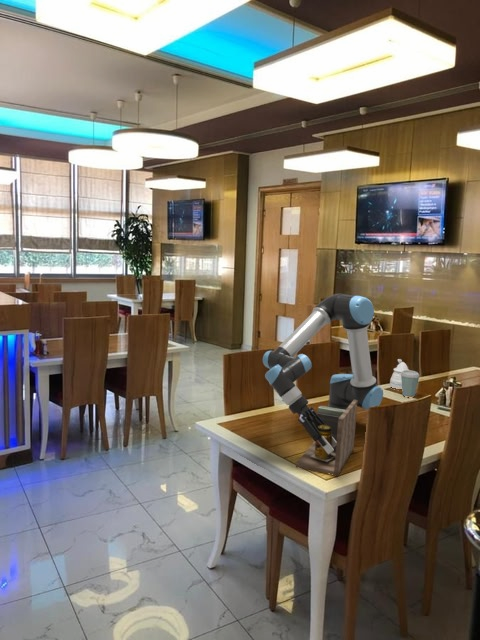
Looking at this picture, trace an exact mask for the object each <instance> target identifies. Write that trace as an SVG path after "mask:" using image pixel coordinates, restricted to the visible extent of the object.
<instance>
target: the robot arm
mask: <svg viewBox="0 0 480 640" xmlns="http://www.w3.org/2000/svg"><path fill="white" fill-rule="evenodd" d="M374 308H375V307H374V305H373V303H372V301H371V300H370V299H368V297H364V296H361V295H351V294H344V293H334V294H332V295H329V296H328V297H326V298H325V299H323V300H321V301H320V302H318V304H317V305H315V307H313V309H312V312H311V313H310V315H309V316H308V317H307V318H305V320H303V322H302V323H300V324H299V326H298V327H297V328H295V330H294V331H293V332H292V333H291V334H290V335H289V336H288V337H287V338H286V339H285V340H284V341H283V342H281V344H280V345H278V347H277V348H276V349H275V350H268V351H266V352H265V353H264V354H263V356H262V363H263V365H264V367H265V368H267V369H269V370H267V371H266V372H265V374H264V377H265V379H266V381H268V383H269V385H270V386H271V387H272V388H273V389H274V391H275V392H276V393H277V394H278V396H279V397H280V399H281V401H282V402H284V404H285V405H286V406H288V409H289V410H290V411H291V413H292V414H294V415H295V414H297V415H298V417H299V418H298V419H297V421H298V422H299V423H300V424H301V425H302V426H303V428H304V429H305V431H306V432H307V433H308V435H309V436H310V437H311V439H312V440H313V442H314V441H318V442H319V443H320V444H321V446H322V447H323V448H324V450H325V451H326V452H327V453H328V454H330V453H331V452H332V451H334V449H333V448H334V447H335V446H336V443H337V442H336V441H335V439H334V438H333V437H332V444H331V445H330V444H329V443H328V441H327V440H326V439H325V438H324V436H321V434H320V432H319V431H318V426H320V425H326V424H325V423H324V422H323V420H322V419H321V418H320V417H319V416H318V412H316V411H315V409H314V407H312V406H311V407H309V406H308V404H309V401H308V400H307V398H306V397H305V395H303V392H302V391H301V390H300V389H299V387H298V386H296V384H295V383H294V382H296V381H297V380H298V379H300V378H301V377H303V376H304V375H306V374H307V373H308V371H309V370H311V369H312V362H311V359H310V358H309V356H308V355H306V354H303V353H299V352H300V350H302V348H304V347H305V346H306V344H308V342H309V341H311V339H312V338H313V337H314V336H315V335H317V333H318V332H319V331H320V330H321V329H322V328H323V327H324V326H325V325H326V326H327V325H328V324H330V323H331V322H332V321H336V320H339V321H341V323H342V328H343V329H344V330H345V331H346V333H347V340H348V343H347V344H348V350H349V357H350V358H349V359H350V364H351V365H350V366H351V372H352V373H339V374H338V373H337V374H333V375H332V376H331V377H330V382H329V390H328V391H329V392H328V393H329V394H328V395H329V396H328V405H327V407H332V408H337V409H343V410H346V409H347V408H348V406H349V405H350V404H351V403H352V401H353V400H358V402H357V408H358V407H359V408H362V409H363V410H368V409H369V407H375V406H378V407H379V406H380V405H381V403H382V401H383V399H384V398H383V397H384V390H383V388H382V387H381V386H378V383H377V378H376V377H375V376H373V371H372V370H373V369H372V361H371V355H370V354H371V353H370V345H369V336H368V328H369V326H370V325H371V324H370V323H371V322H372V320H373V319H374V315H375V309H374ZM298 353H299V354H298ZM296 354H297V355H296ZM368 411H369V410H368ZM326 426H327V425H326Z"/></svg>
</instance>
